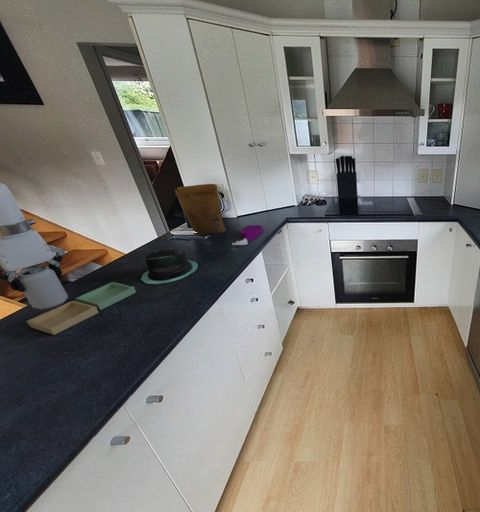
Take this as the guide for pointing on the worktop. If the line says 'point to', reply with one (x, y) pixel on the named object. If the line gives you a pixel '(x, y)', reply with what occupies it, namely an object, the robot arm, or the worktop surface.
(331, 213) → the worktop surface
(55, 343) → the worktop surface
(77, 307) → the near tray
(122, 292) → the far tray
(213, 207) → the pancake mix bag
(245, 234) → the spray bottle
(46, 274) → the can
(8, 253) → the robot arm
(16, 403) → the worktop surface
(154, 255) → the black and teal hat
